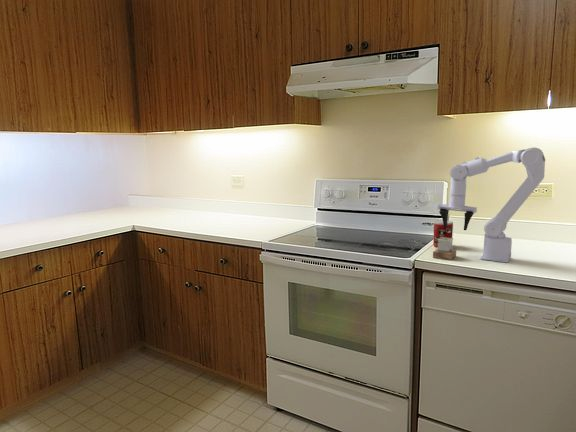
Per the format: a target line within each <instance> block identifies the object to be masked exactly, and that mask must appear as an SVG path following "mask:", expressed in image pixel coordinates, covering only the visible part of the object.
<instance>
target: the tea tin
mask: <svg viewBox="0 0 576 432" xmlns="http://www.w3.org/2000/svg"><path fill="white" fill-rule="evenodd" d="M453 241H454V238H453V237H452V238H446V237H440V238H439V239H438V251H441V252H450V251H452V250H453Z"/></svg>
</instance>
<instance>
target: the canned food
mask: <svg viewBox="0 0 576 432" xmlns="http://www.w3.org/2000/svg"><path fill="white" fill-rule="evenodd" d="M453 229H454V222H453V221H452V220H448V219H447V227H446V228H444V224H443V220H442V219H437V220H434V221H433V242H432V243H433V247H435V248H436V249H437V248H438V239H439V238H440V237H446V238H453V232H454V231H453Z"/></svg>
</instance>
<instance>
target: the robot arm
mask: <svg viewBox="0 0 576 432" xmlns="http://www.w3.org/2000/svg"><path fill="white" fill-rule="evenodd" d="M511 162H513V163H515V164H516V163H517V164H518V163H521V164H522V165H523V167H525V170H526V175H527V176H526V178H525V179H524V181H523V182H522V183H521V185H519V187H518V188H517V190H515V192H514V193H513V194H512V196H511V197H510V198H509V199H508V201H507V202H506V203H505V204H504V206H502V208H501V209H500V210H499V212H497V214H495V216H494V217H492V218H490V220H489V221H487V222H486V223H485V224H484V227H483V229H484V230H483V231H484V237H483V253H482V254H483V255H482V256H481V257H480V260H484V261H492V262H500V263H509V261H510V260H511V258H512V243H513V242H512V237H508V236H506V234H505V232H504V231H505V230H506V229H507V224H508V222H509V221H510V220H511V218H512V217H513V216H514V215H515V214H516V213H517V211H518V210H519V209H520V208H521V206H523V204H524V203H525V202H526V201H527V199H528V198H529V197H530V196H531V194H532V193H533V192H534V191H535V190H536V188H537V187H538V186H539V185H540V183H541V182H542V181H543V180H544V179H545V172H546V170H545V168H546V157H545V155H544V152H543V150H541V149H540V148H538V147H528V148H526V149H518V150H512V151H509V152H506V153H503V154H500V155H498V156H497V155H496V156H494V157H491V158H488V159H486V158H484V157H478V156H477V157H475V158H474V159H473V160H469V161H467V162H466V161H462V162H461V163H462V164H455V165H454V166H452V167H451V168H450V171H449V175H450V177H451V181H450V191H449V202H448V203H449V204H440V203H439V204H437V208H436V209H437V210H438V211H439V214H440V216H441V220H443V224H444V228H446V227H447V220H448V217H449V212H450V211H455V212H464V223H463V231H467V229H468V226H469V223H470V221H471V219H472V217H473V215H474V214H476V213H477V212H478V209H477V208H478V207H476V206H474V207H473V206H469V205H468V206H467V205H466V193H467V177H469V178H471V177H474V176H477V175H481V174H483V173H487V171H488V170H489V169H490V168H491V167H492V168H493V167H496V166H500V165H503V164H507V163H511Z"/></svg>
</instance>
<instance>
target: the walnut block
mask: <svg viewBox="0 0 576 432" xmlns="http://www.w3.org/2000/svg"><path fill="white" fill-rule="evenodd" d="M456 256H457V249H452V251H450V252H441V251H438V248H437V247H436V249H434V250H433V252H432V258H433V259H439V260H446V261H447V260H448V261H452V260H453V259H454V258H455V257H456Z"/></svg>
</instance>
